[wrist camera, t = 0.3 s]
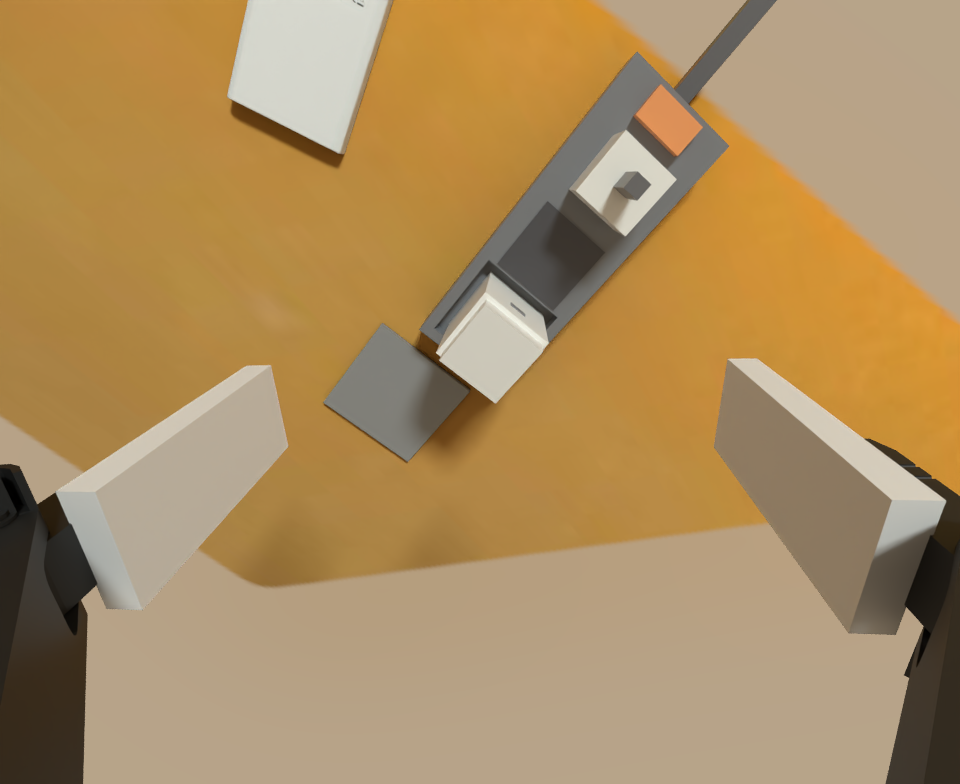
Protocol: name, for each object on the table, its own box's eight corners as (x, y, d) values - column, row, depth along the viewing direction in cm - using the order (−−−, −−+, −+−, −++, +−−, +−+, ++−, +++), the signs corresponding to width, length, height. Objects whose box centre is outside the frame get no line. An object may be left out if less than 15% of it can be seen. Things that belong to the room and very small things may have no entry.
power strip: (503, 379, 41) (499, 437, 32) (425, 319, 40) (398, 362, 30) (813, 36, 31) (939, -23, 22) (725, -65, 29) (822, -175, 20)
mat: (324, 400, 43) (323, 402, 43) (382, 323, 40) (381, 324, 40) (408, 459, 45) (407, 461, 45) (470, 389, 42) (469, 391, 41)
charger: (449, 322, 38) (432, 360, 30) (491, 270, 36) (484, 296, 28) (500, 362, 39) (496, 409, 31) (543, 313, 37) (551, 350, 29)
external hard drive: (237, 99, 35) (285, -117, 30) (346, 155, 36) (410, -46, 31) (224, 96, 33) (273, -132, 28) (339, 154, 34) (405, -57, 29)
